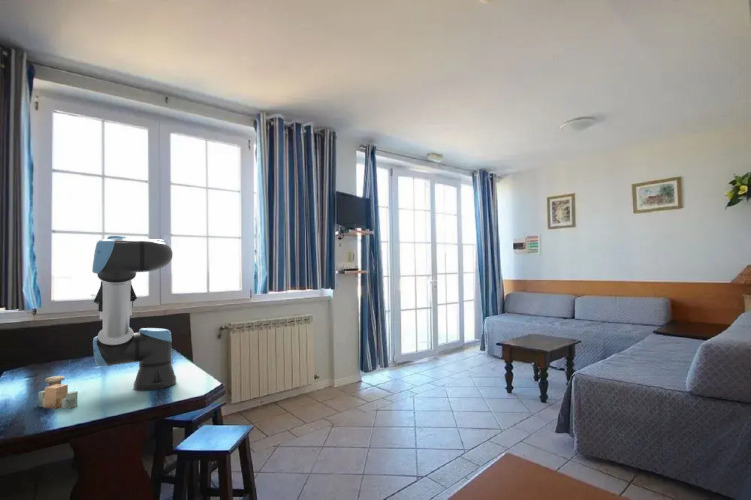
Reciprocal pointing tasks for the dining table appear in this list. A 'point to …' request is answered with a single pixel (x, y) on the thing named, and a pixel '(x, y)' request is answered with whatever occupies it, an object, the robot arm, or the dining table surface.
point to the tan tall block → (55, 395)
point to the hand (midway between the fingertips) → (116, 317)
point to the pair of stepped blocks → (66, 402)
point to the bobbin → (54, 380)
